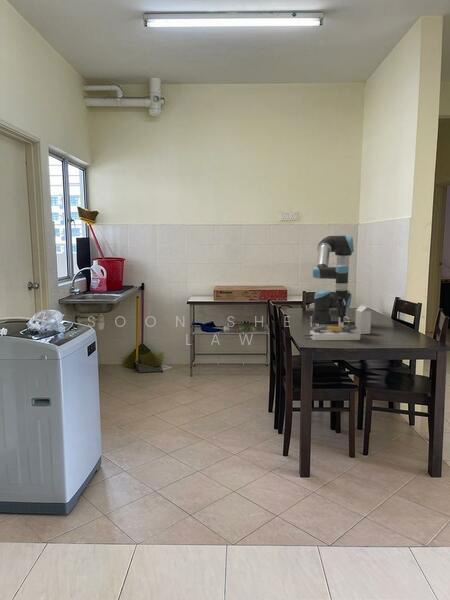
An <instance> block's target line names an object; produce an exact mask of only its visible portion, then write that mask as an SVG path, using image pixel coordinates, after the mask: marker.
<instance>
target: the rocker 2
mask: <svg viewBox="0 0 450 600" xmlns="http://www.w3.org/2000/svg"><path fill="white" fill-rule="evenodd" d="M341 328H342V331H344V332H346V331H350V330H355V329H357V328H356V326H355V324H350V325H347V326H344V327H341Z"/></svg>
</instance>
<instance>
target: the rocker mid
mask: <svg viewBox="0 0 450 600" xmlns="http://www.w3.org/2000/svg"><path fill="white" fill-rule="evenodd" d="M326 327H327V329H326V330H336V331H342V327H339V325H336V326H335V325H334V326H333V325H326Z"/></svg>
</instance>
